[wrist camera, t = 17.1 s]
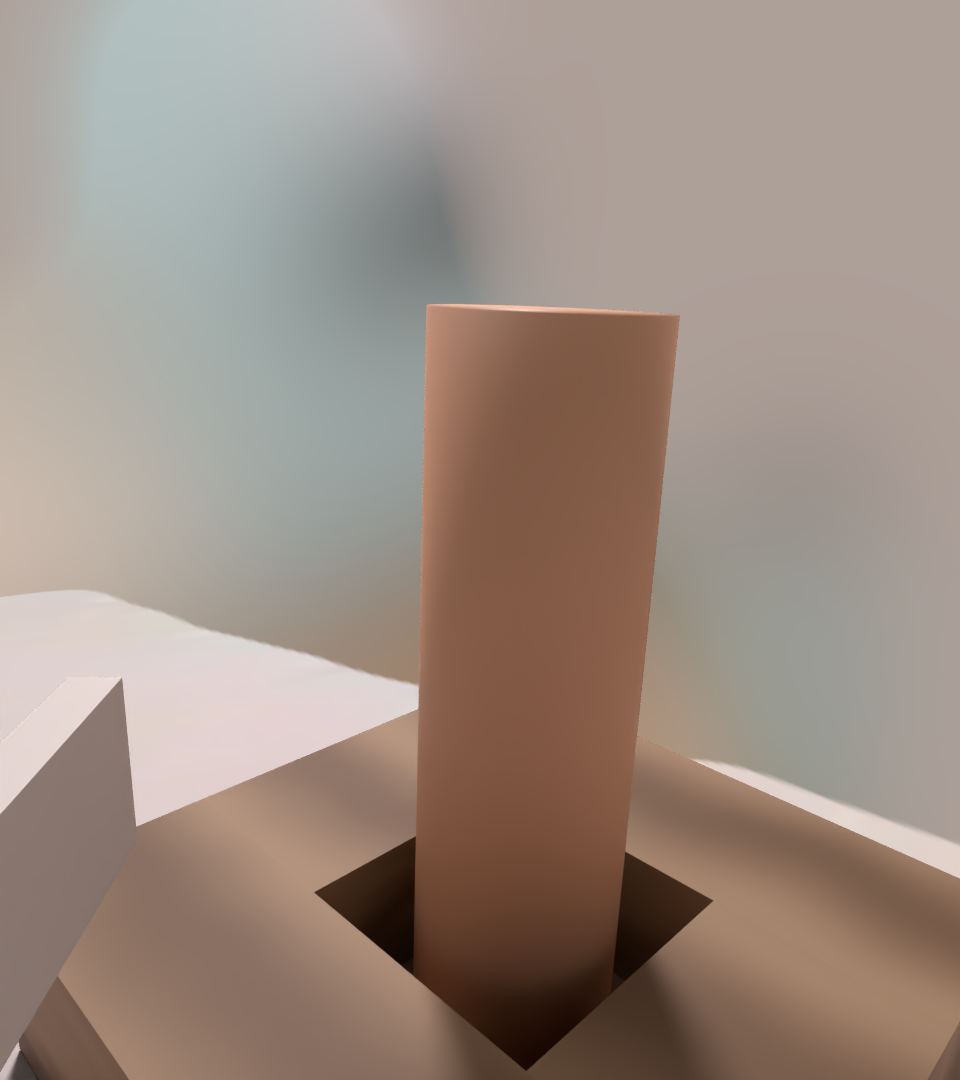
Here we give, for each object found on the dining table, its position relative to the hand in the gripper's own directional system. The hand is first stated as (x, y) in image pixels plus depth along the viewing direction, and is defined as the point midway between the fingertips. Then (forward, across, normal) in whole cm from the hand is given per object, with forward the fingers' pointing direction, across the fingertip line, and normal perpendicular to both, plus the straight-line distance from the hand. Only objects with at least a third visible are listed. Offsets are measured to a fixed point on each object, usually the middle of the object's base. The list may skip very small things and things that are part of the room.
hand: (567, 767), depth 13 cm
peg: (+7, 0, -12) cm, 13 cm away
